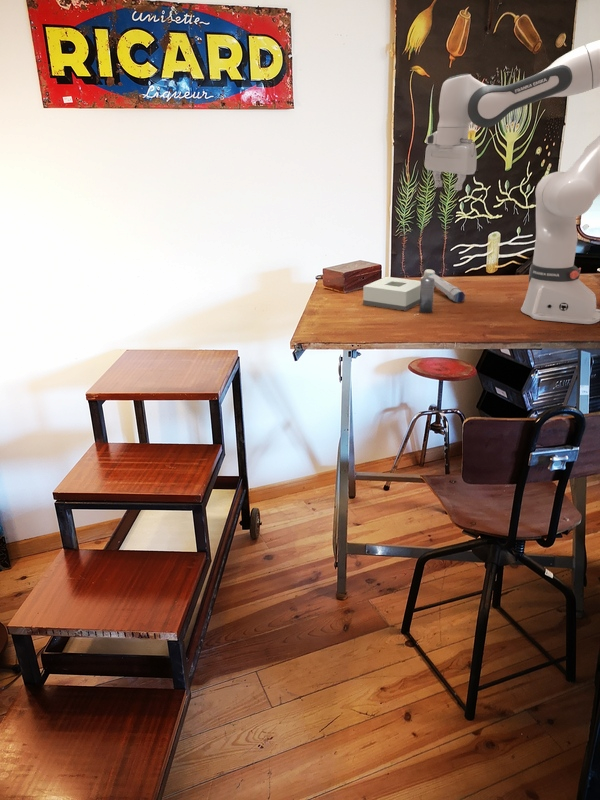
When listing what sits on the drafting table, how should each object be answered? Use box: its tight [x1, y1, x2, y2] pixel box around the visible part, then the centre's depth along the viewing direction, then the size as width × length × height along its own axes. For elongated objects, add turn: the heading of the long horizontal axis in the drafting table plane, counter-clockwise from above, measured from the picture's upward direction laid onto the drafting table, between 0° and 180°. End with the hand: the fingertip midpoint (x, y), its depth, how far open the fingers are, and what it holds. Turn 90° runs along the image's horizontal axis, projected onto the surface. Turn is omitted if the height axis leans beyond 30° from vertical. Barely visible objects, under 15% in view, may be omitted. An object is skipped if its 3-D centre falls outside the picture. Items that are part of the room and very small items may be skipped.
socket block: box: [362, 276, 421, 312], centre depth 193 cm, size 15×15×6 cm
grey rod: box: [420, 268, 466, 304], centre depth 202 cm, size 5×7×25 cm
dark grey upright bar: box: [418, 277, 435, 314], centre depth 182 cm, size 4×4×10 cm
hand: (447, 188), depth 179 cm, fingers open, 8 cm apart
